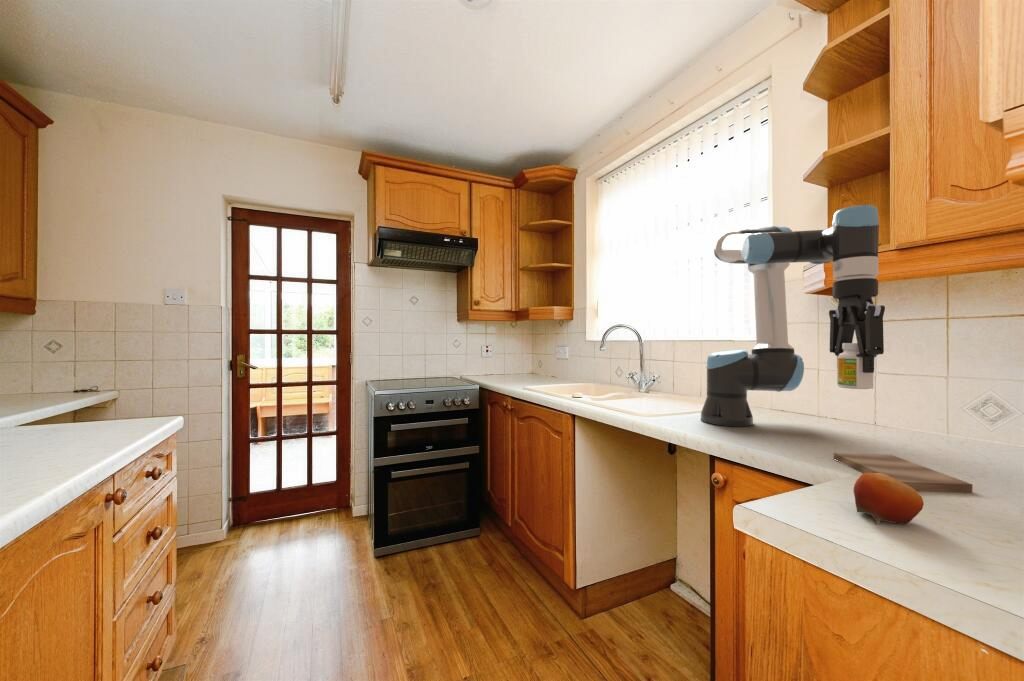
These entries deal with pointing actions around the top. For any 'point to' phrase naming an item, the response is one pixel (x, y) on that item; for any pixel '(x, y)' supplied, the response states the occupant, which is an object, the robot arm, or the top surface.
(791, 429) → the top surface
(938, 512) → the top surface
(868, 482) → the fruit
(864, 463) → the walnut board
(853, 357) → the supplement bottle
